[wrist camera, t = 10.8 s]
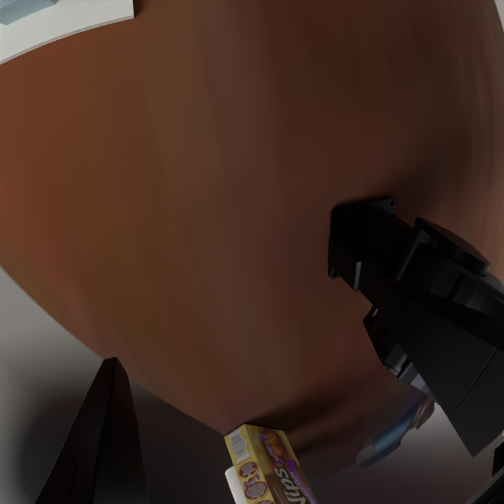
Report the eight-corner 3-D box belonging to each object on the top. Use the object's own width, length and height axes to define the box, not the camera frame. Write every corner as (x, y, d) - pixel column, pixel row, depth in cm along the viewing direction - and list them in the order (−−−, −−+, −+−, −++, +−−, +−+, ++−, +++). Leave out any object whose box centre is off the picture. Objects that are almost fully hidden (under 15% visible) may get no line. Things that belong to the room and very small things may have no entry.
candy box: (221, 437, 35) (258, 537, 23) (243, 422, 35) (288, 526, 22) (263, 444, 40) (301, 527, 28) (284, 430, 40) (327, 515, 27)
